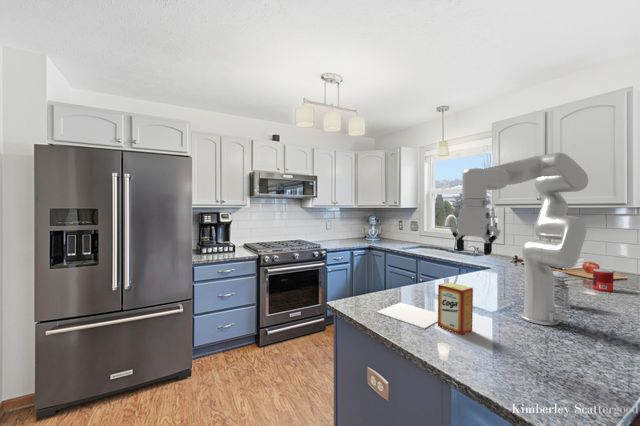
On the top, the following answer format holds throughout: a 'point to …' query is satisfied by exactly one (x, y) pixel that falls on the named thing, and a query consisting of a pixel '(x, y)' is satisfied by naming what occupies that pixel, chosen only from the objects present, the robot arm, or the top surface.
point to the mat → (410, 315)
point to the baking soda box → (455, 307)
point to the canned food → (603, 280)
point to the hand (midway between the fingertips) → (473, 252)
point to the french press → (561, 291)
